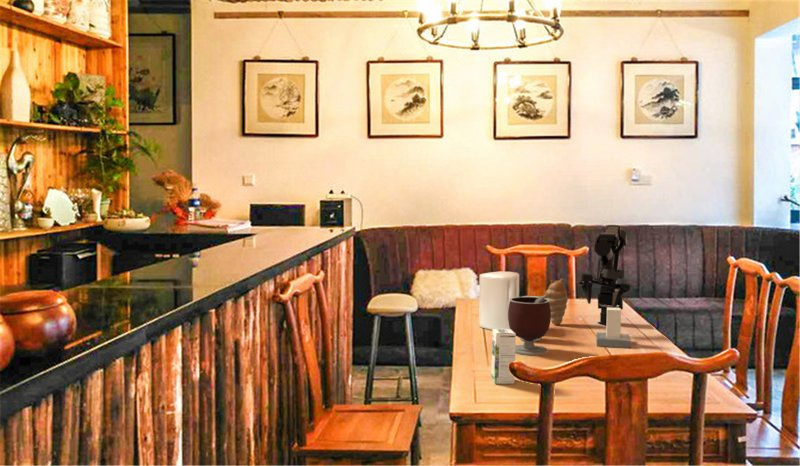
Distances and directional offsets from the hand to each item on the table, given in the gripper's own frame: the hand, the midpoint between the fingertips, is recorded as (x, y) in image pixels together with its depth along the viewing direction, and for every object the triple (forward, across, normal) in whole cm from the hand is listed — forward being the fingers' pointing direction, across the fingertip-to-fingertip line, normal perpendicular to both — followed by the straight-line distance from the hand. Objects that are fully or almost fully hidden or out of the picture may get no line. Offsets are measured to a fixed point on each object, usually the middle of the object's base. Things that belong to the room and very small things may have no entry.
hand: (601, 306), depth 263 cm
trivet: (+15, +2, -8) cm, 17 cm away
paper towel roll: (+12, -30, +18) cm, 37 cm away
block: (+12, +2, -9) cm, 15 cm away
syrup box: (+41, -44, -43) cm, 74 cm away
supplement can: (+17, -24, +2) cm, 30 cm away
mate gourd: (+25, -28, -13) cm, 40 cm away
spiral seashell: (+4, -8, +23) cm, 25 cm away
